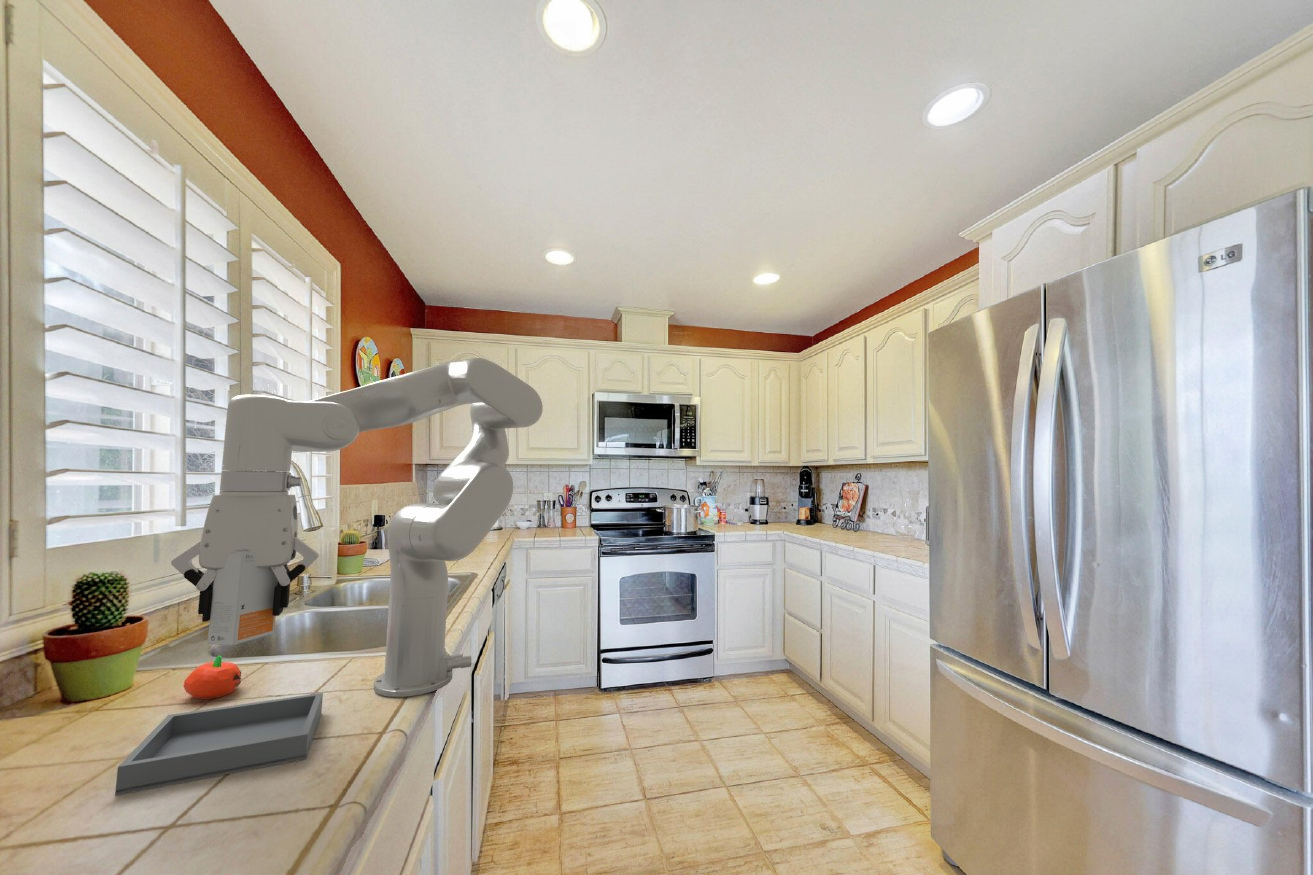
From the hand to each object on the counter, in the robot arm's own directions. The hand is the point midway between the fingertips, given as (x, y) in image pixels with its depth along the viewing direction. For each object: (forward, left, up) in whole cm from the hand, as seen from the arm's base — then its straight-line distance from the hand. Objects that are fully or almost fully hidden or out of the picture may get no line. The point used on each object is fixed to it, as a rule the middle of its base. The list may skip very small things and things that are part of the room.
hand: (244, 615), depth 69 cm
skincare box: (0, 0, -3) cm, 3 cm away
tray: (0, 0, -17) cm, 17 cm away
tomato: (+8, -22, -18) cm, 29 cm away
